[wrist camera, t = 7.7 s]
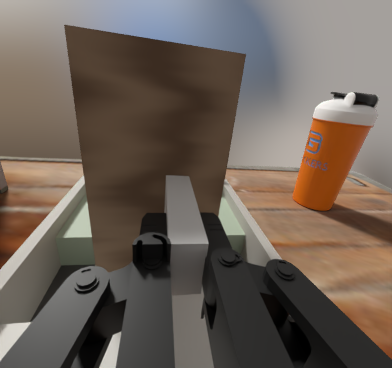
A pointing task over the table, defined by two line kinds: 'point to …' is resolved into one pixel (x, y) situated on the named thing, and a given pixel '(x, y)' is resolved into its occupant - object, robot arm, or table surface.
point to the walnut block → (148, 128)
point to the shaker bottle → (333, 147)
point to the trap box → (84, 256)
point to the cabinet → (2, 181)
